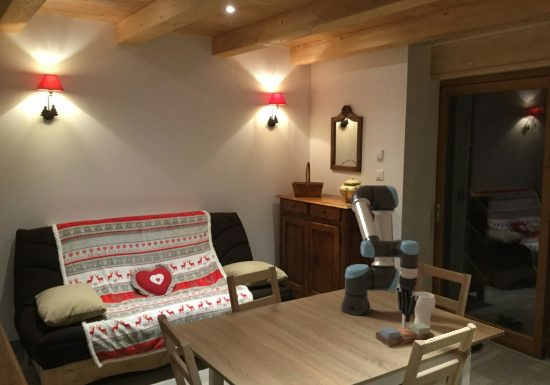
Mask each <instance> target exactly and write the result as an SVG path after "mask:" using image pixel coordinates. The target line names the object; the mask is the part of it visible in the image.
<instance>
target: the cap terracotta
mask: <svg viewBox="0 0 550 385" xmlns="http://www.w3.org/2000/svg"><path fill="white" fill-rule="evenodd" d="M395 329H396V328H395ZM396 330H398V331H400V336H402V337H409V336H415V332H413V331H411V330H410V329H403V328H397V329H396Z"/></svg>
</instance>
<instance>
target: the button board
mask: <svg viewBox="0 0 550 385" xmlns="http://www.w3.org/2000/svg"><path fill="white" fill-rule="evenodd" d="M408 329H410V327H409V328H408ZM435 335H436V334H435V333H433V332H431V331H430V333H429V334H423V335H418V334H416V333H415V336H409V337H402V336H400V338H396V339H390V340H387V339H386V338H384V337H383V336H381V335H380V331H377V332H375V339H376V340H378V341H379V342H381V343H382V344H383V345H385V346H386V347H388V348H391V347H397V346H403V345H410V344H414V343H413V342H414V341H415V340H427V339H430V338H433V337H436V336H435Z"/></svg>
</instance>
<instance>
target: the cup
mask: <svg viewBox="0 0 550 385" xmlns="http://www.w3.org/2000/svg"><path fill="white" fill-rule="evenodd" d="M415 294H416V296H417V295H418V296H419V298H418V299H417V302H416V306H415V310H414V316H415V317H414V322H413V324H416V323H423V324H425V325H427V326H429V327H430V328H431V326H432V325H431V315H432V313H433V312H434V310H435V307H436V297H435V294H433V293H431V292H429V291H428V292H427V291H415Z"/></svg>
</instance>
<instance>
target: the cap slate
mask: <svg viewBox="0 0 550 385" xmlns="http://www.w3.org/2000/svg"><path fill="white" fill-rule="evenodd" d="M379 332H380V335H381V336H383V337H384V338H386V339H387V340H390V339H396V338H400V331H398V330H396V328H394V327H393V326H389V327H381V328H380V329H379Z"/></svg>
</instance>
